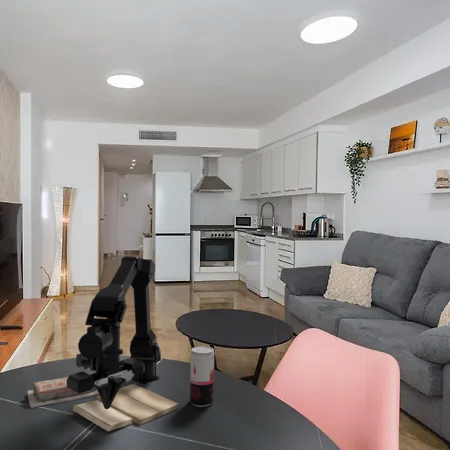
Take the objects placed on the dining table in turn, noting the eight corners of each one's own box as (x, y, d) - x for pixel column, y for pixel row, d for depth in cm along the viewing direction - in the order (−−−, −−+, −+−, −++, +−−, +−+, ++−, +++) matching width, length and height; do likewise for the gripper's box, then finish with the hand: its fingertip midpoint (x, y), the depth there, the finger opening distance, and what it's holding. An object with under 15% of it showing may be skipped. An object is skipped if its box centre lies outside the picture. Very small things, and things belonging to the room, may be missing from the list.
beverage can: (217, 403, 118) (218, 350, 118) (198, 409, 114) (199, 354, 114) (204, 395, 124) (205, 344, 123) (185, 401, 120) (186, 348, 119)
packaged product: (91, 369, 131) (98, 380, 122) (91, 385, 131) (98, 397, 122) (27, 379, 122) (30, 392, 113) (27, 396, 122) (30, 410, 113)
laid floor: (133, 387, 128) (133, 383, 128) (178, 408, 115) (178, 403, 115) (95, 401, 118) (95, 396, 118) (140, 425, 105) (140, 420, 105)
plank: (96, 404, 116) (96, 399, 116) (131, 423, 106) (132, 418, 106) (72, 410, 111) (73, 405, 111) (107, 431, 100) (108, 425, 101)
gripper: (120, 331, 116) (119, 388, 116) (55, 346, 102) (54, 410, 102) (146, 340, 108) (144, 400, 109) (79, 357, 94) (78, 426, 95)
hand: (106, 408), depth 104 cm, fingers closed
